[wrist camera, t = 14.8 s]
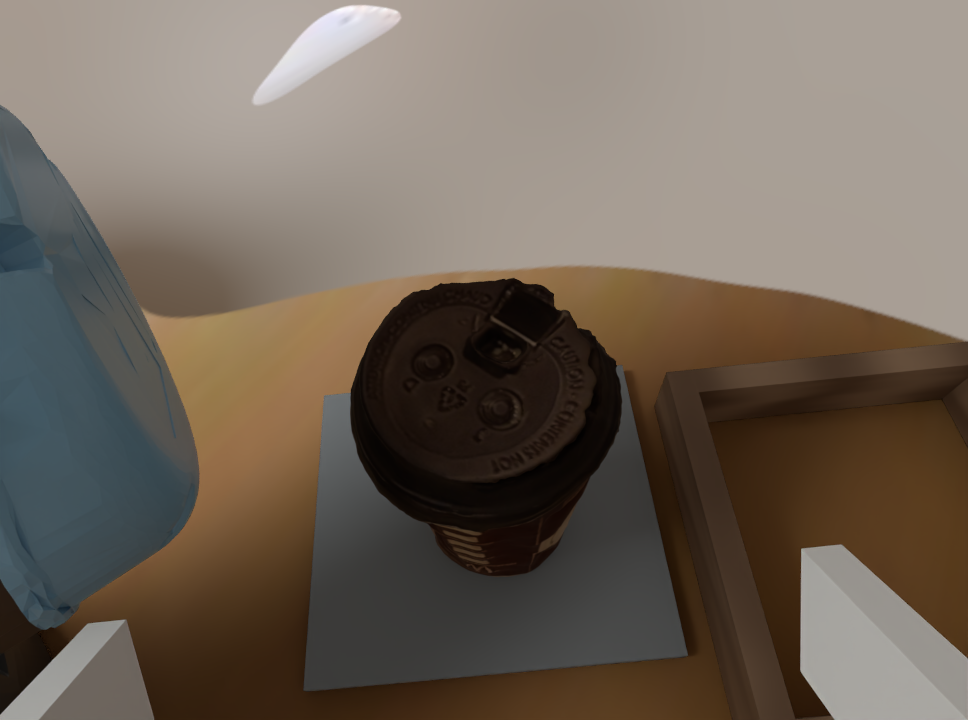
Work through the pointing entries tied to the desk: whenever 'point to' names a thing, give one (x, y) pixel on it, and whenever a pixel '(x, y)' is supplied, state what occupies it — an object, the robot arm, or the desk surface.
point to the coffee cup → (485, 418)
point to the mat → (482, 581)
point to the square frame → (706, 502)
